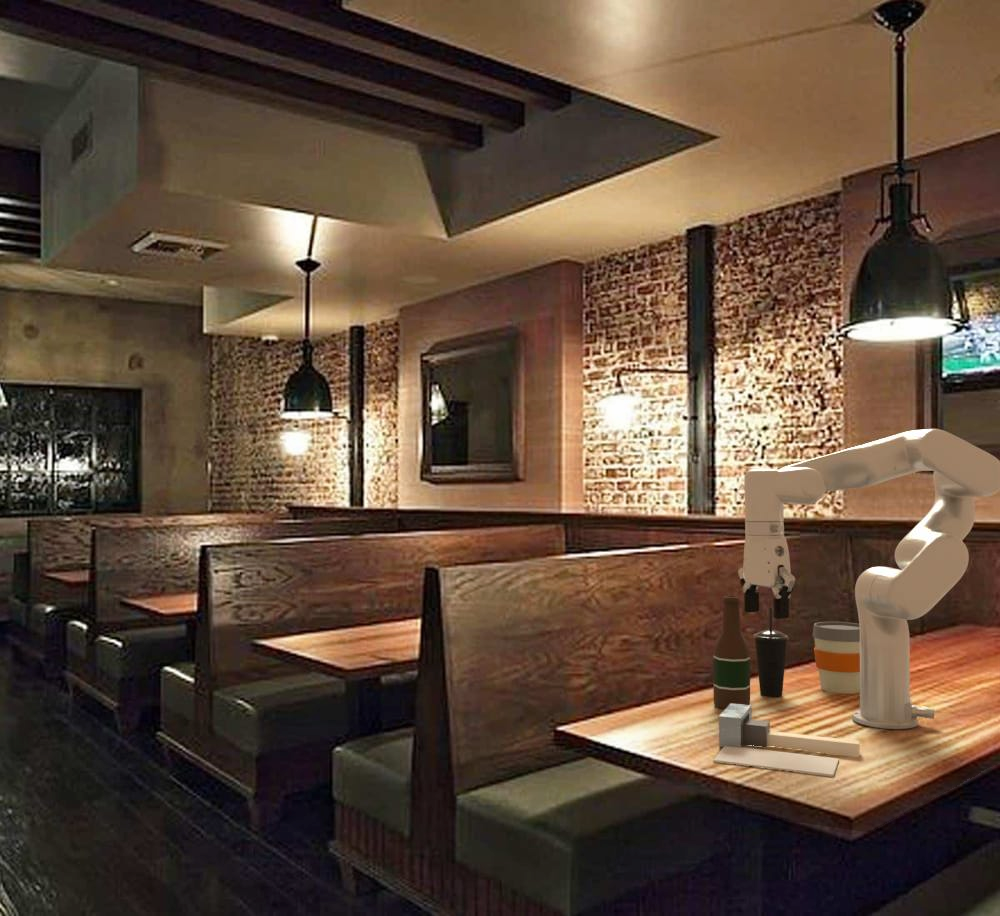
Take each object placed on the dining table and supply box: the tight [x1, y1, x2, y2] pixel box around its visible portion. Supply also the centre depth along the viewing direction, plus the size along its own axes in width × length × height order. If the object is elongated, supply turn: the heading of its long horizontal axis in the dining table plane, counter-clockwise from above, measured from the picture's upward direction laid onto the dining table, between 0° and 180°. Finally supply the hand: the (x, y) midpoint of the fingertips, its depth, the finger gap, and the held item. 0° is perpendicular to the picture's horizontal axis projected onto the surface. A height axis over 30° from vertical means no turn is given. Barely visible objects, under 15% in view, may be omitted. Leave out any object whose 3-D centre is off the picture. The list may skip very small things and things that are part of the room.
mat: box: [712, 746, 840, 778], centre depth 169 cm, size 20×10×1 cm, turn 65°
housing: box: [718, 703, 753, 748], centre depth 182 cm, size 4×11×6 cm, turn 155°
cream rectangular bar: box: [743, 719, 861, 758], centre depth 177 cm, size 20×4×4 cm, turn 65°
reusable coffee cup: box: [812, 621, 860, 695], centre depth 226 cm, size 13×13×15 cm
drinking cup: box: [753, 607, 789, 698], centre depth 220 cm, size 8×8×20 cm
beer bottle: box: [712, 595, 751, 710], centre depth 209 cm, size 8×8×24 cm
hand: (766, 615), depth 193 cm, fingers open, 9 cm apart
